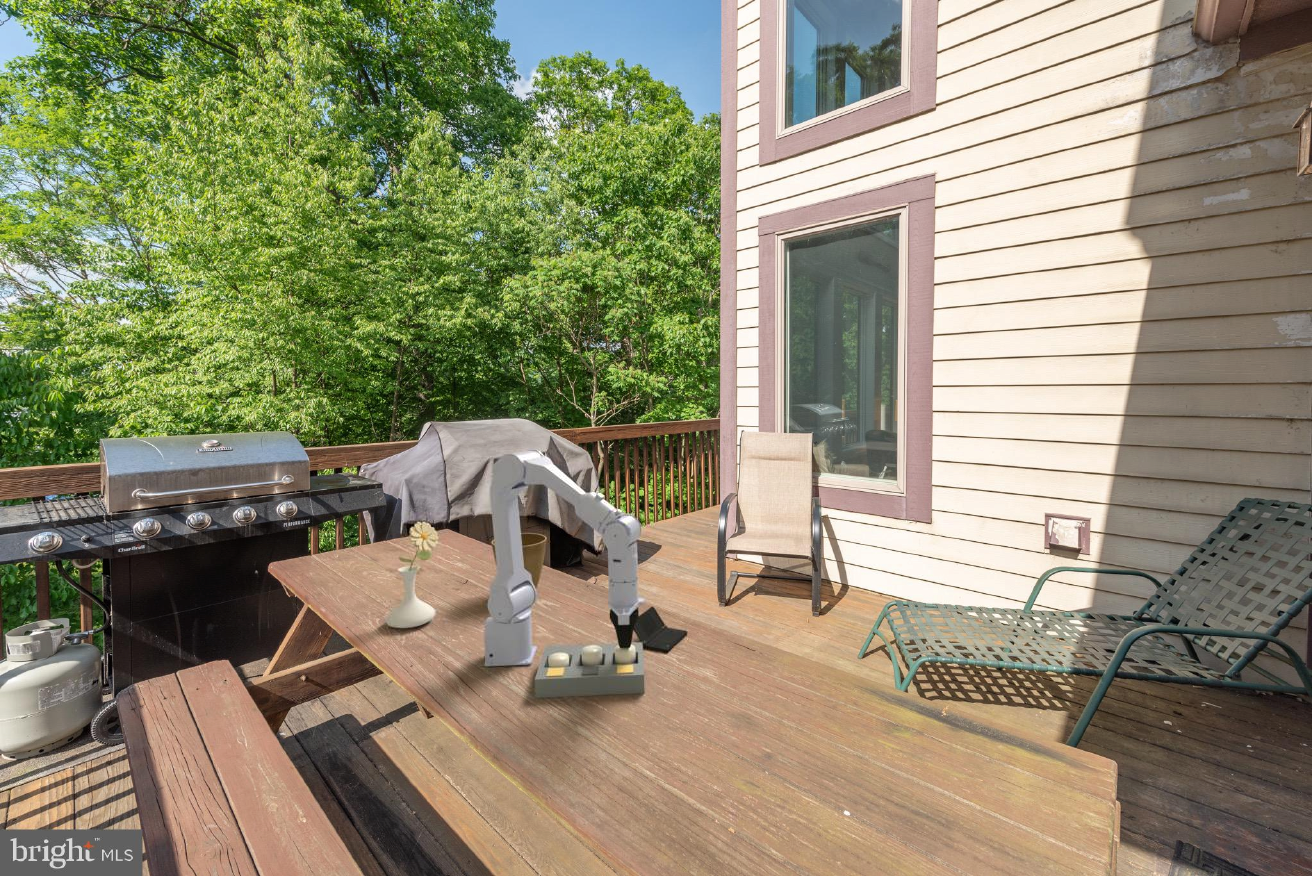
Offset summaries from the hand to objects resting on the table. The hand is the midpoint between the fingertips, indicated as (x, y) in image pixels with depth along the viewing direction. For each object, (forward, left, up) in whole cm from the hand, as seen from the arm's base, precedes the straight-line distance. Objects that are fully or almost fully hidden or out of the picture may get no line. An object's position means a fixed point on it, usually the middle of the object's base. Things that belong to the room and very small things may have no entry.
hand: (625, 646), depth 111 cm
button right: (0, 0, -3) cm, 3 cm away
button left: (-13, 0, -5) cm, 14 cm away
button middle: (-7, 0, -3) cm, 7 cm away
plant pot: (-30, +49, -6) cm, 58 cm away
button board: (-7, 0, -6) cm, 9 cm away
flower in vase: (-53, +32, -6) cm, 62 cm away
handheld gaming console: (+7, +16, -6) cm, 19 cm away
